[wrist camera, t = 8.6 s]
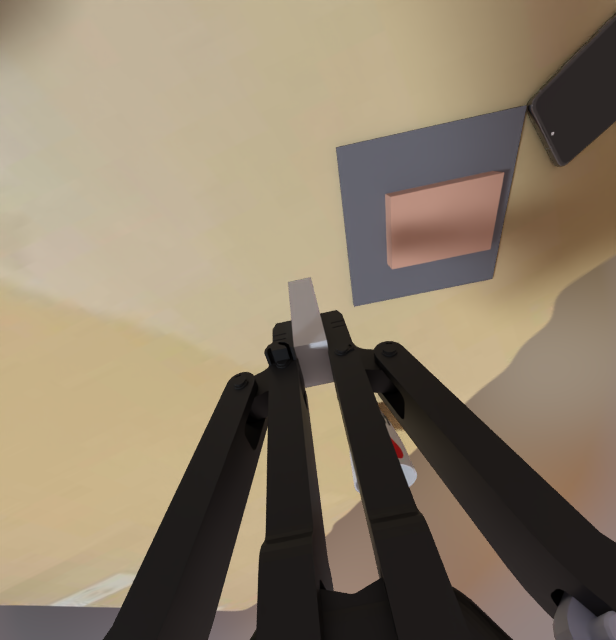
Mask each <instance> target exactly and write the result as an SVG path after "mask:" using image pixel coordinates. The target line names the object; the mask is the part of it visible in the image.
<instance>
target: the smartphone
mask: <svg viewBox="0 0 616 640" xmlns="http://www.w3.org/2000/svg"><path fill="white" fill-rule="evenodd" d="M526 111H527V113H528V115H529V117H530V119H531V121H532V123H533V125H534V127H535V129H536V131H537V133H538V135H539V137H540V139H541V141H542V143H543V145H544V147H545V149H546V151H547V153H548V155H549V157H550V159H551V161H552V162H553V164H554V165H555V166H557V167H562V166H565V165H566V164H568V163H569V162H570V161H571V160H572V159H573V158H575V157H576V156H577V155H578V154H579V153H580V152H581V151H583V150H584V149H585V148H586V147H587V146H588V145H589V144H591V143H592V142H593V141H594V140H595V139H596V138H597V137H599V136H600V135H601V134H602V133H603V132H604V131H605V130H607V129H608V128H609V127H610V126H611V125H612V124H613V123H615V122H616V13H615V14H614V15H613V16H612V17H611V18H610V19H609V20H608V21H607V22H606V23H605V24H604V25H603V26H602V27H601V28H600V29H599V30H598V31H597V32H596V33H595V34H594V35H593V36H592V37H591V38H590V39H589V40H588V41H587V42H586V43H585V45H583V46H582V47H581V48H580V49H579V50H578V51H577V52H576V53H575V54H574V55H573V56H572V57H571V58H570V59H569V60H568V61H567V62H566V63H565V64H564V65H563V66H562V67H561V69H560V70H559V71H558V72H557V73H556V74H555V75H554V76H553V77H552V78H551V79H550V80H549V81H548V82H547V83H546V84H545V85H544V86H543V87H542V88H541V89H540V90H539V91H538V92H537V93H536V94H535V95H534V96H533V97H532V98H531V99H530V101H529V102H528V104H527V107H526Z"/></svg>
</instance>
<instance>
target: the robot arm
mask: <svg viewBox="0 0 616 640" xmlns="http://www.w3.org/2000/svg"><path fill="white" fill-rule="evenodd" d="M288 287H289V299H290V310H291V321H287V322H282V323H277V324H276V325H275V327H274V328H273V343H271V344H270V345H268V346H267V348H266V349H265V352H264V353H265V356H266V359H267V361H268V364H269V367H268V368H267V369H266V370H265V371H263V372H261V373H259V374H257V375H255V376H254V375H253V374H251V373H249V372H242V373H239V374H237V375H235V376H233V377H232V378H231V379H230V380H229V381H228V383H227V385H226V387H225V389H224V391H223V393H222V395H221V397H220V400H219V402H218V404H217V406H216V408H215V410H214V412H213V414H212V416H211V419H210V421H209V423H208V425H207V427H206V429H205V431H204V433H203V436H202V438H201V440H200V442H199V444H198V446H197V448H196V450H195V452H194V455H193V457H192V459H191V461H190V463H189V465H188V467H187V469H186V471H185V474H184V476H183V478H182V480H181V482H180V484H179V486H178V488H177V490H176V493H175V495H174V497H173V499H172V501H171V503H170V505H169V507H168V510H167V512H166V514H165V516H164V518H163V520H162V522H161V524H160V526H159V529H158V531H157V533H156V535H155V537H154V539H153V541H152V543H151V545H150V548H149V550H148V552H147V554H146V556H145V558H144V560H143V562H142V565H141V567H140V569H139V571H138V573H137V575H136V577H135V579H134V581H133V584H132V586H131V588H130V590H129V592H128V594H127V596H126V598H125V600H124V603H123V605H122V607H121V609H120V611H119V613H118V616H117V617H116V619H115V622H114V624H113V626H112V627H111V629H110V630H109V632H108V633H107V635H106V636H105V637H104V639H103V640H208V637H209V634H210V631H211V628H212V624H213V621H214V618H215V614H216V610H217V607H218V603H219V600H220V596H221V592H222V589H223V585H224V582H225V578H226V574H227V571H228V567H229V564H230V560H231V557H232V553H233V549H234V546H235V542H236V539H237V535H238V531H239V528H240V524H241V521H242V517H243V513H244V510H245V506H246V503H247V499H248V495H249V492H250V488H251V485H252V481H253V477H254V474H255V470H256V467H257V463H258V459H259V456H260V452H261V449H262V445H263V441H264V438H265V434H266V431H267V427H268V447H267V497H266V536H265V541H264V543H263V544H262V546H261V549H260V555H259V571H258V599H257V628H256V630H255V632H254V634H253V636H252V637H251V639H250V640H513V639H512V638H510V637H509V636H508V635H507V634H506V633H505V632H504V631H503V630H502V629H501V628H500V627H499V626H498V625H497V624H496V623H495V622H494V621H493V620H492V619H491V618H490V617H489V616H487V615H486V613H485V612H483V611H482V610H481V609H480V608H479V607H478V606H477V605H476V604H475V603H474V602H473V601H472V600H471V599H469V598H468V597H467V596H466V595H464V594H463V593H462V592H460V591H459V590H457V589H456V588H454V587H452V586H451V583H450V581H449V578H448V576H447V573H446V571H445V568H444V565H443V563H442V560H441V558H440V555H439V553H438V550H437V547H436V545H435V542H434V540H433V537H432V534H431V532H430V529H429V527H428V525H427V523H426V520H425V518H424V516H423V515H422V513H420V511H419V510H418V509H417V506H416V504H415V502H414V499H413V496H412V494H411V491H410V488H409V486H408V483H407V480H406V478H405V475H404V472H403V470H402V467H401V464H400V462H399V459H398V456H397V454H396V451H395V448H394V446H393V443H392V440H391V438H390V435H389V432H388V430H387V427H386V424H385V422H384V419H383V416H382V414H381V411H380V409H379V406H378V403H377V401H376V398H375V395H374V393H373V392H375V393H378V395H379V396H380V398H381V399H382V400H383V402H384V403H385V404H386V406H387V407H388V409H389V410H390V411H391V413H392V414H393V415H394V417H395V418H396V419H397V421H398V422H399V423H400V425H401V426H402V427H403V429H404V430H405V431H406V433H407V434H408V435H409V437H410V438H411V439H412V441H413V442H414V443H415V445H416V446H417V447H418V449H419V450H420V451H421V453H422V454H423V455H424V457H425V458H426V459H427V461H428V462H429V463H430V465H431V466H432V467H433V469H434V470H435V471H436V473H437V474H438V475H439V477H440V478H441V479H442V481H443V482H444V483H445V485H446V486H447V487H448V489H449V490H450V491H451V493H452V494H453V495H454V497H455V498H456V499H457V501H458V502H459V503H460V505H461V506H462V507H463V509H464V510H465V511H466V513H467V514H468V515H469V517H470V518H471V519H472V521H473V522H474V523H475V525H476V526H477V528H478V529H479V530H480V531H481V533H482V534H483V536H484V537H485V538H486V539H487V541H488V542H489V544H490V545H491V546H492V548H493V549H494V550H495V551H496V553H497V554H498V556H499V557H500V558H501V560H502V561H503V562H504V564H505V565H506V566H507V568H508V569H509V570H510V571H511V572H512V574H513V575H514V576H515V577H516V579H517V580H518V581H519V582H520V584H521V585H522V586H523V587H524V589H525V590H526V591H527V592H528V593H529V594H530V595H531V596H532V597H533V598H534V599H535V601H536V602H537V603H538V604H539V605H540V606H541V607H542V608H543V609H544V610H545V611H546V612H547V613H548V614H549V615H550V616H551V617H552V618H553V619H554V621H553V630H554V637H555V639H556V640H616V543H615V542H614V541H612V540H611V539H609V538H608V537H606V536H605V535H603V534H602V533H600V532H599V531H598V530H597V529H596V528H595V527H594V526H593V525H592V524H591V523H589V522H588V521H587V520H586V519H585V518H584V517H583V516H582V515H581V514H580V513H579V512H578V511H577V510H576V509H575V508H574V507H573V506H572V505H570V504H569V503H568V502H567V501H566V500H565V499H564V498H563V497H562V496H561V495H560V494H559V493H558V492H557V491H556V490H554V488H552V487H551V486H550V485H549V484H548V483H547V482H546V481H545V480H544V479H543V478H542V477H541V476H540V475H539V474H538V473H537V472H536V471H534V470H533V469H532V468H531V467H530V466H529V465H528V464H527V463H526V462H525V461H524V460H523V459H522V458H521V457H520V456H519V455H517V454H516V453H515V452H514V451H513V450H512V449H511V448H510V447H509V446H508V445H507V444H506V443H505V442H504V441H503V440H501V438H499V437H498V436H497V435H496V434H495V433H494V432H493V431H492V430H491V429H490V428H489V427H488V426H487V425H486V424H485V423H484V422H482V421H481V420H480V419H479V418H478V417H477V416H476V415H475V414H474V413H473V412H472V411H471V410H470V409H469V408H468V407H467V406H466V405H465V404H463V403H462V402H461V401H460V400H459V399H458V398H457V397H456V396H455V395H454V394H453V393H452V392H451V391H450V390H449V389H448V388H447V387H445V386H444V385H443V384H442V383H441V382H440V381H439V380H438V379H437V378H436V377H435V376H434V375H433V374H432V373H431V372H430V371H429V370H427V369H426V368H425V367H424V366H423V365H422V364H421V363H420V362H419V361H418V360H417V359H416V358H415V357H414V356H413V355H412V354H410V353H409V352H408V351H407V350H406V349H405V348H404V347H403V346H402V345H400V344H399V343H397V342H393V341H385V342H381V343H380V344H378V345H377V346H376V347H375V348H374V350H371V349H362V348H359V347H357V346H355V344H353V342H352V340H351V337H350V334H349V332H348V329H347V326H346V324H345V321H344V318H343V315H342V314H341V313H340V312H338V311H337V310H335V311H330V312H326V313H321V314H320V312H319V308H318V304H317V300H316V296H315V292H314V288H313V284H312V280H311V277H309V278H304V279H300V280H295V281H291V282H288ZM331 382H334V383H335V388H336V393H337V398H338V401H339V405H340V410H341V414H342V418H343V423H344V427H345V431H346V435H347V440H348V444H349V448H350V452H351V457H352V461H353V465H354V470H355V474H356V478H357V482H358V487H359V491H360V495H361V499H362V503H363V508H364V512H365V516H366V521H367V525H368V529H369V534H370V538H371V542H372V546H373V550H374V555H375V560H376V564H377V569H378V574H379V578H380V579H379V580H377V581H375V582H373V583H372V584H370V585H368V586H367V587H365V588H364V589H362V590H360V591H358V592H357V593H355V594H347V593H341V592H336V591H334V590H333V583H332V577H331V572H330V568H329V563H328V556H327V549H326V541H325V533H324V525H323V517H322V509H321V502H320V494H319V486H318V478H317V470H316V462H315V454H314V446H313V439H312V431H311V423H310V415H309V407H308V399H307V394H306V391H305V388H307V387H312V386H316V385H321V384H326V383H331Z"/></svg>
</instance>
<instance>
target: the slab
mask: <svg viewBox="0 0 616 640" xmlns="http://www.w3.org/2000/svg"><path fill="white" fill-rule="evenodd" d="M503 177H504V172H497V171H490V172H485V173H480V174H476V175H471V176H466V177H462V178H457V179H452V180H448V181H443V182H439V183H434V184H429V185H425V186H420V187H415V188H411V189H406V190H401V191H397V192H392V193H387V194H385V208H386V241H387V264H388V265H389V266H390V268H391V269H397V268H402V267H407V266H412V265H417V264H421V263H426V262H431V261H436V260H441V259H446V258H451V257H456V256H460V255H465V254H470V253H475V252H480V251H485V250H490V249H491V243H492V238H493V232H494V227H495V221H496V216H497V210H498V205H499V199H500V194H501V188H502V183H503Z"/></svg>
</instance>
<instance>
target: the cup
mask: <svg viewBox="0 0 616 640" xmlns="http://www.w3.org/2000/svg"><path fill="white" fill-rule="evenodd" d="M380 411H381V410H380ZM381 414H382V416H383V419H384V422H385V424H386V427H387V430H388V432H389V435H390V438H391V440H392V443H393V446H394V448H395V451H396V454H397V456H398V459H399V462H400V464H401V467H402V470H403V472H404V475H405V478H406V480H407V483H408V486H409V487H410V486H411V485H412V484H413V483H414V482H415V480H416V478H417V473H416V471H415V469H414V466H413V464H412V462H411V460H410V458H409V455H408V453H407V451H406V449H405V447H404V445H403V443H402V441H401V439H400V437H399V436H398V434H397V432H396V431H395V429H394V427H393V426H392V424H391V422H390V421H389V420H388V419H387V417H386V416H385V415H384V414H383V413H382V411H381ZM350 459H351V466H352V473H353V480H354V486H355V489H356V491H357V492H359V493H360V491H359V487H358V482H357V478H356V474H355V470H354V465H353V461H352V457H351V452H350Z"/></svg>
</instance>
